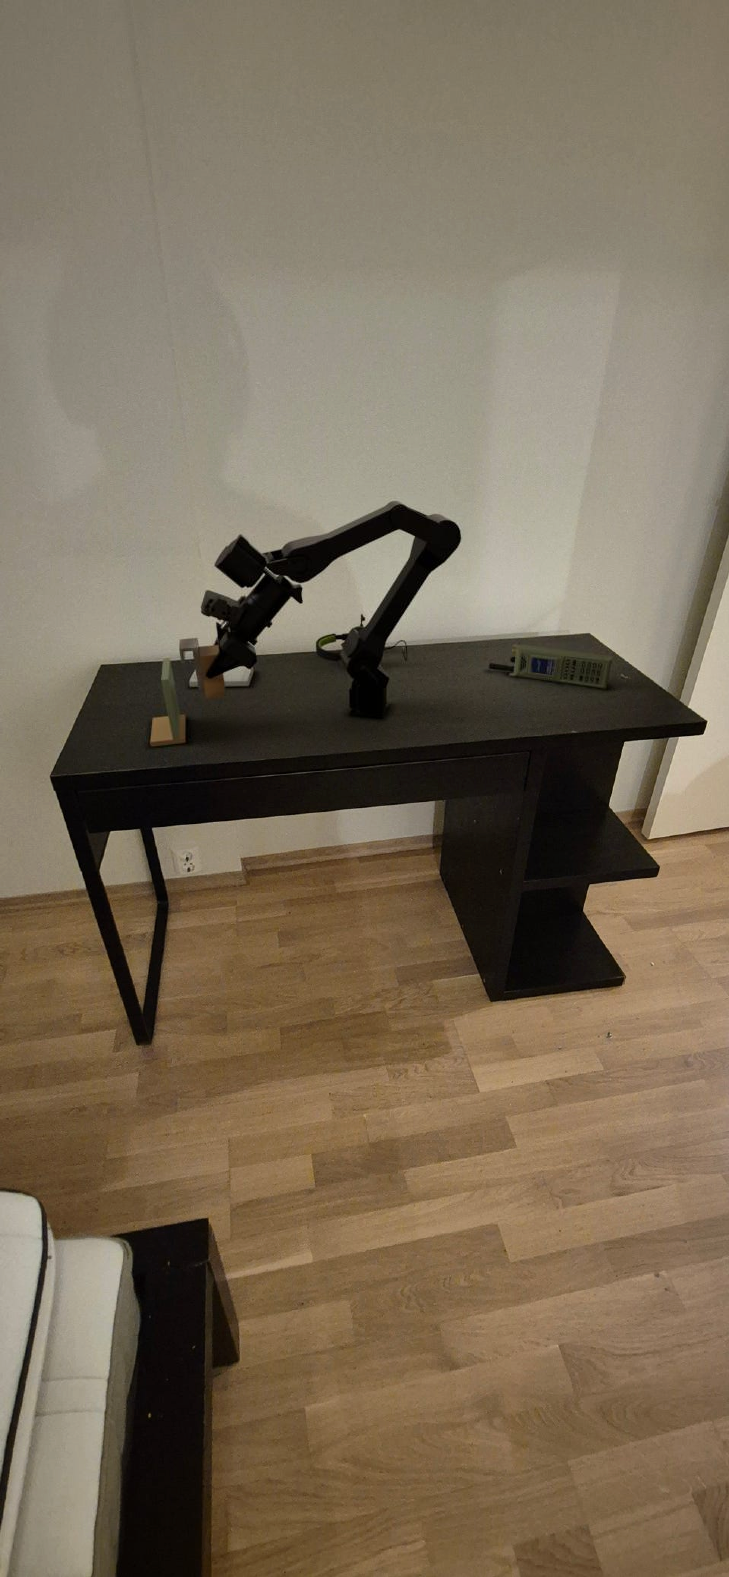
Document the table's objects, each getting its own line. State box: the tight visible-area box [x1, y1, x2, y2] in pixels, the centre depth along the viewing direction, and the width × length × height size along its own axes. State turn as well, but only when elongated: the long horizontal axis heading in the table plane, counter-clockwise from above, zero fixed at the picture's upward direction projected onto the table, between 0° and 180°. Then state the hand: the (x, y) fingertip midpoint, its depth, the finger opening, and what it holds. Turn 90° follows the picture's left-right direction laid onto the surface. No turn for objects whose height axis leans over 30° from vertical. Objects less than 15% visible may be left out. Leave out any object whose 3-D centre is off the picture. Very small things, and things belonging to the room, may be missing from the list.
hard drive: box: [189, 666, 254, 688], centre depth 143 cm, size 2×8×12 cm
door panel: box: [149, 658, 187, 747], centre depth 119 cm, size 6×10×12 cm, turn 13°
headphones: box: [315, 613, 408, 663], centre depth 149 cm, size 16×10×20 cm
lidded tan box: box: [178, 637, 227, 699], centre depth 118 cm, size 7×5×10 cm
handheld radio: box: [488, 643, 613, 690], centre depth 140 cm, size 7×3×25 cm
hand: (207, 671), depth 118 cm, fingers closed on lidded tan box, 5 cm apart
